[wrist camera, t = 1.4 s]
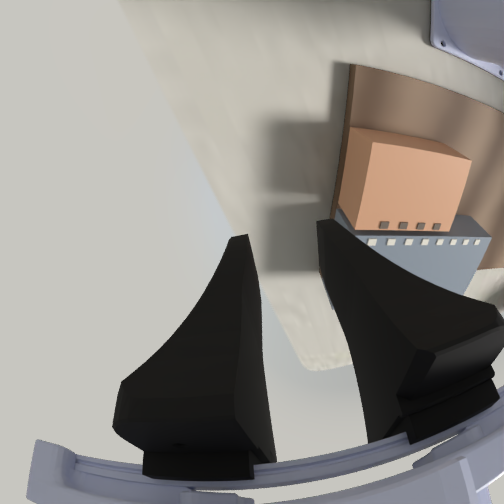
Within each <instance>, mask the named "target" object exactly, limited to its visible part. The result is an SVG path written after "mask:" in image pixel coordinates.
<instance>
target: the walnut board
mask: <svg viewBox="0 0 504 504" xmlns="http://www.w3.org/2000/svg"><path fill="white" fill-rule="evenodd" d="M350 127H356V128H364V129H371V130H378V131H384V132H390V133H396V134H402V135H407V136H412V137H418V138H422V139H427V140H432V141H436V142H441V143H444V144H446V145H448V146H449V147H451V148H453V149H454V150H456V151H458V152H459V153H461V154H462V155H464V156H466V157H467V158H469V159H470V160H472V163H471V167H470V170H469V174H468V177H467V181H466V184H465V187H464V190H463V194H462V197H461V200H460V203H459V206H458V209H457V211H456V214H455V215H466V216H471V217H472V218H473V219H474V220H475V221H476V222H477V223H478V224H479V225H480V226H481V227H482V228H483V229H484V230H485V231H486V232H487V233H488V234H489V235H490V236H491V237H492V239H491V241H490V243H489V245H488V247H487V250H486V252H485V254H484V256H483V258H482V260H481V262H480V264H479V266H478V268H477V270H481V269H492V268H503V267H504V113H502V112H500V111H498V110H496V109H494V108H492V107H490V106H487V105H485V104H483V103H481V102H478V101H476V100H473V99H471V98H469V97H466V96H464V95H461V94H458V93H456V92H453V91H450V90H448V89H445V88H442V87H439V86H436V85H433V84H430V83H427V82H424V81H420V80H417V79H414V78H410V77H407V76H403V75H399V74H395V73H392V72H387V71H383V70H379V69H375V68H370V67H365V66H360V65H354V64H350V73H349V84H348V94H347V104H346V113H345V121H344V129H343V137H342V145H341V152H340V159H339V166H338V172H337V179H336V185H335V191H334V197H333V203H332V208H331V214H330V219H332V218H333V219H335V214H336V209H341V207H340V205H339V204H338V201H339V195H340V190H341V184H342V178H343V172H344V165H345V159H346V152H347V146H348V138H349V131H350ZM319 272H320V275H321V278H322V273H321V270H319Z"/></svg>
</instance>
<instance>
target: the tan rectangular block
mask: <svg viewBox="0 0 504 504" xmlns="http://www.w3.org/2000/svg"><path fill="white" fill-rule="evenodd" d="M471 163H472V160H470V159H469V158H467V157H466V156H464V155H462V154H461V153H459V152H458V151H456V150H454V149H453V148H451V147H449V146H448V145H446V144H444V143H441V142H436V141H432V140H427V139H422V138H418V137H412V136H407V135H402V134H396V133H390V132H384V131H378V130H371V129H364V128H356V127H350V131H349V138H348V146H347V152H346V159H345V165H344V172H343V178H342V184H341V190H340V195H339V201H338V204H339V205H340V207H341V209H342V210H343V212H344V213H345V215H346V216H347V218H348V220H349V221H350V223H351V224H352V226H353V228H354V229H355V230H406V231H448V232H449V230H450V228H451V225H452V223H453V220H454V217H455V214H456V211H457V209H458V206H459V203H460V200H461V197H462V194H463V190H464V187H465V184H466V181H467V177H468V174H469V170H470V167H471Z"/></svg>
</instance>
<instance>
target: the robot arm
mask: <svg viewBox="0 0 504 504" xmlns="http://www.w3.org/2000/svg"><path fill="white" fill-rule="evenodd" d="M430 41H431V44H432V45H433V47H435V48H437V49H440V50H442V51H445V52H447V53H450V54H452V55H454V56H456V57H459V58H461V59H463V60H465V61H467V62H469V63H471V64H473V65H475V66H477V67H479V68H481V69H483V70H485V71H487V72H489V73H491V74H492V75H494V76H496V77H498V78H500V79H501V80H503V81H504V0H431V36H430ZM441 41H442V43H443V46H442V45H441ZM499 72H500V73H499ZM316 223H317V237H318V253H319V266H320V270H321V273H322V277H323V280H324V284H325V287H326V290H327V292H328V295H329V297H330V300H331V302H332V305H333V307H334V309H335V312H336V314H337V317H338V319H339V322H340V324H341V327H342V329H343V332H344V334H345V337H346V340H347V343H348V346H349V350H350V354H351V357H352V361H353V365H354V369H355V374H356V378H357V382H358V387H359V392H360V396H361V402H362V407H363V412H364V419H365V425H366V431H367V438H368V444H366V445H362V446H358V447H355V448H351V449H347V450H343V451H338V452H334V453H330V454H325V455H320V456H315V457H309V458H304V459H298V460H291V461H284V462H278V463H276V462H277V457H276V451H275V445H274V438H273V431H272V425H271V418H270V411H269V403H268V396H267V389H266V381H265V373H264V365H263V352H262V311H261V295H260V288H259V281H258V275H257V271H256V266H255V262H254V258H253V254H252V249H251V245H250V241H249V236H248V234H245V235H240V236H235V237H231V238H230V239H229V241H228V244H227V247H226V249H225V252H224V254H223V256H222V259H221V261H220V263H219V265H218V267H217V269H216V271H215V273H214V275H213V277H212V279H211V281H210V282H209V284H208V286H207V287H206V289H205V291H204V293H203V294H202V296H201V298H200V299H199V301H198V302H197V304H196V305H195V307H194V308H193V310H192V311H191V312H190V314H189V315H188V316H187V318H186V319H185V320H184V322H183V323H182V324H181V325H180V327H179V328H178V329H177V330H176V331H175V333H174V334H173V335H172V336H171V337H170V338H169V339H168V340H167V342H165V343H164V345H163V346H162V347H161V348H160V349H159V350H158V351H157V352H155V353H154V354H153V355H152V356H151V357H150V358H149V359H148V360H147V361H146V362H145V363H144V364H142V365H141V366H140V367H139V368H138V369H137V370H135V371H134V372H133V373H132V374H130V375H129V376H128V377H127V378H125V379H124V380H123V381H122V382H121V385H120V389H119V392H118V396H117V402H116V407H115V413H114V419H113V426H112V427H113V429H114V431H115V432H116V433H117V434H118V435H119V436H120V437H122V438H123V439H124V440H126V441H128V442H129V443H131V444H133V445H134V446H136V447H138V448H140V449H141V450H143V451H144V455H143V465H140V464H132V463H123V462H116V461H109V460H103V459H97V458H92V457H86V456H82V455H77V454H75V453H74V452H72V451H71V450H69V449H67V448H65V447H63V446H60V445H57V444H53V443H50V442H46V441H42V440H36V442H35V447H34V452H33V457H32V462H31V468H30V474H29V481H28V487H27V495H26V497H27V499H29V500H30V501H32V502H35V503H37V504H254V500H253V499H252V498H244V497H239V496H238V495H237V494H235V493H215V492H201V491H196V490H243V489H259V488H269V487H277V486H287V485H293V484H300V483H306V482H312V481H318V480H322V479H328V478H332V477H337V476H341V475H346V474H349V473H353V472H357V471H361V470H365V469H368V468H372V467H375V466H378V465H382V464H384V463H387V462H391V461H394V460H397V459H399V458H402V457H405V456H408V455H410V454H413V453H415V452H418V451H421V450H423V449H426V448H428V447H430V446H433V445H435V444H437V443H440V442H442V441H444V440H446V439H448V438H451V437H453V436H455V435H457V434H458V435H457V436H455V437H453V438H451V439H450V440H448V441H446V442H444V443H442V444H440V445H438V446H436V447H434V448H433V449H432V450H431V452H430V453H428V454H427V455H426V456H424V457H422V458H421V459H419V460H417V461H416V462H414V463H413V465H412V466H413V469H412V470H409V471H406V472H403V473H400V474H397V475H394V476H391V477H388V478H385V479H382V480H379V481H375V482H372V483H368V484H365V485H362V486H358V487H354V488H350V489H346V490H341V491H338V492H333V493H328V494H323V495H319V496H313V497H308V498H302V499H296V500H290V501H282V502H275V503H266V504H492V503H491V498H490V494H489V490H488V485H489V484H491V483H492V482H494V481H495V480H496V479H498V478H499V477H500V476H502V475H503V474H504V386H502V387H500V388H499V389H496V387H495V385H494V383H493V381H492V379H491V378H493V377H494V375H495V372H494V370H493V368H492V366H491V364H492V363H493V361H494V360H495V359H496V357H497V356H498V354H499V353H500V352H501V350H502V349H503V347H504V319H503V317H502V316H501V314H500V313H499V311H498V310H497V308H496V307H495V305H492V304H489V303H486V302H482V301H479V300H475V299H472V298H469V297H466V296H463V295H460V294H457V293H455V292H452V291H449V290H447V289H444V288H442V287H440V286H437V285H435V284H433V283H431V282H429V281H426V280H424V279H422V278H420V277H418V276H416V275H414V274H412V273H411V272H409V271H407V270H405V269H403V268H402V267H400V266H398V265H396V264H395V263H393V262H391V261H390V260H388V259H387V258H385V257H384V256H382V255H381V254H379V253H378V252H376V251H375V250H373V249H372V248H371V247H369V246H368V245H366V244H365V243H364V242H362V241H361V240H360V239H358V238H357V237H356V236H355V235H353V234H352V233H351V232H349V231H348V230H347V229H346V228H344V227H343V226H342V225H341V224H339V223H338V222H337V221H335V220H334V219H333V218H332V219H326V220H321V221H316Z"/></svg>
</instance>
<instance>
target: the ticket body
mask: <svg viewBox="0 0 504 504" xmlns="http://www.w3.org/2000/svg"><path fill="white" fill-rule="evenodd" d="M334 220H335V221H337V222H338V223H339V224H341V225H342V226H343V227H344V228H346V229H347V230H348V231H349V232H351V233H352V234H353V235H355V236H356V237H357V238H358V239H360V240H361V241H362V242H364V243H365V244H366V245H368V246H369V247H371V248H372V249H373V250H375V251H376V252H378V253H379V254H381V255H382V256H384V257H385V258H387V259H388V260H390V261H391V262H393V263H395V264H396V265H398V266H400V267H402V268H403V269H405V270H407V271H409V272H411V273H412V274H414V275H416V276H418V277H420V278H422V279H424V280H426V281H429V282H431V283H433V284H435V285H437V286H440V287H442V288H444V289H447V290H449V291H452V292H455V293H457V294H460V295H463V294H464V292H465V291H466V289H467V287H468V285H469V283H470V282H471V280H472V278H473V276H474V274H475V272H476V270H477V268H478V266H479V264H480V262H481V260H482V258H483V256H484V254H485V252H486V250H487V247H488V245H489V243H490V241H491V239H492V237H491V236H490V235H489V234H488V233H487V232H486V231H485V230H484V229H483V228H482V227H481V226H480V225H479V224H478V223H477V222H476V221H475V220H474V219H473V218H472V217H471V216H466V215H455V217H454V220H453V223H452V225H451V228H450V230H449V232H448V231H406V230H355V229H354V228H353V226H352V224H351V223H350V221H349V220H348V218H347V216H346V215H345V213H344V212H343V210H342V209H336V214H335V219H334ZM322 281H323V284H324V280H323V277H322ZM324 287H325V284H324ZM325 290H326V287H325ZM326 293H327V296H328V298H329V301H330V304H331V307H332V310H333V309H334V307H333V305H332V302H331V300H330V297H329V295H328V292H327V290H326Z"/></svg>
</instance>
